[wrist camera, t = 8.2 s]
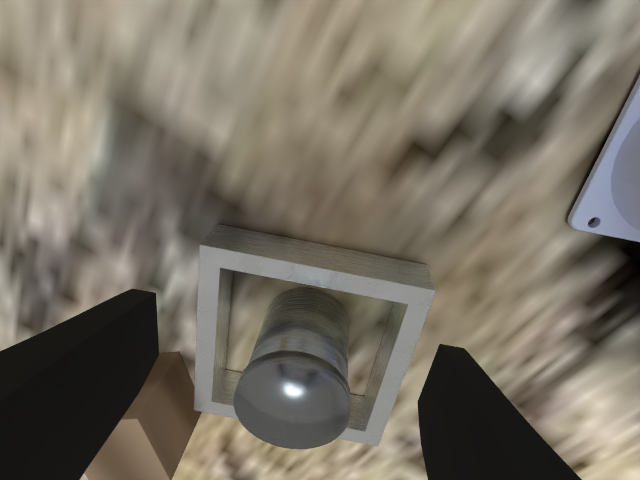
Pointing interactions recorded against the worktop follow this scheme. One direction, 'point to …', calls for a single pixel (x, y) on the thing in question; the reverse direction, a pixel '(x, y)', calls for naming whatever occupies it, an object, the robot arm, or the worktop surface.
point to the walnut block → (151, 427)
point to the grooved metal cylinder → (298, 373)
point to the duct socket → (317, 270)
